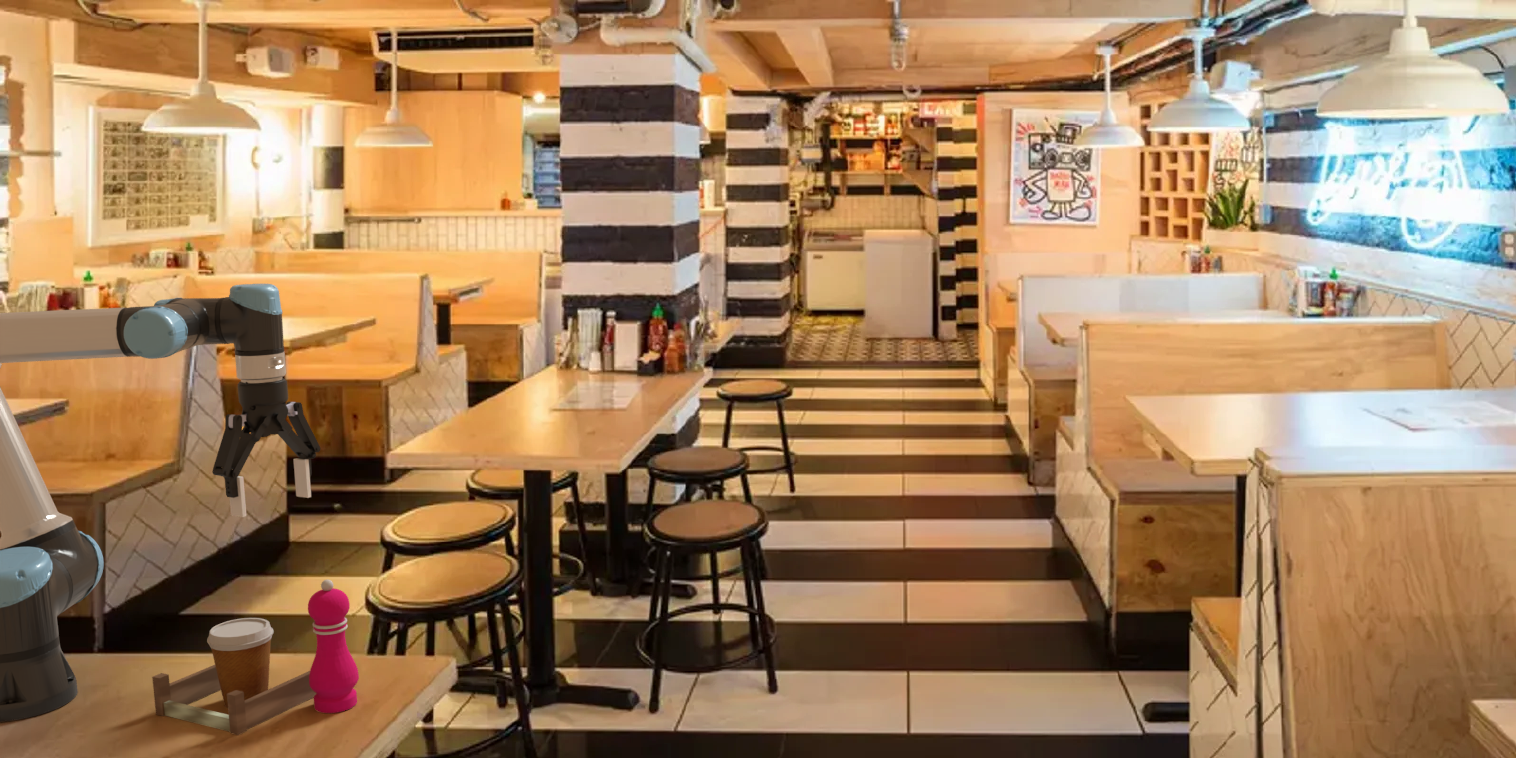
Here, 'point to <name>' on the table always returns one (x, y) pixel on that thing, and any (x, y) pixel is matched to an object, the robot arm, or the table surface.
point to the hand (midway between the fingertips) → (272, 506)
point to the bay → (241, 713)
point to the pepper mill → (332, 652)
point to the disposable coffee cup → (242, 655)
